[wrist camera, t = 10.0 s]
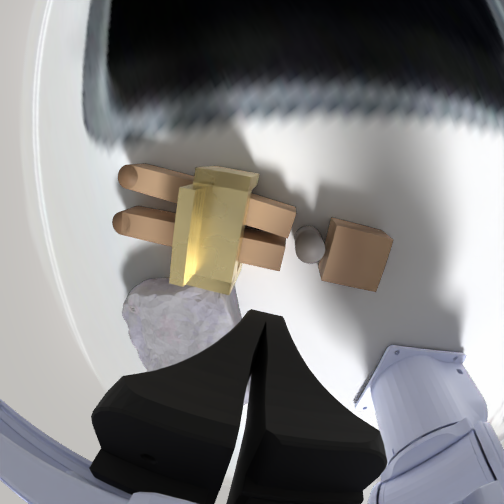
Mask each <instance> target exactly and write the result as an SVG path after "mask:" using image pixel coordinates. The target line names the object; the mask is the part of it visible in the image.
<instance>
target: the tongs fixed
mask: <svg viewBox="0 0 504 504" xmlns="http://www.w3.org/2000/svg"><path fill="white" fill-rule="evenodd" d="M175 217H176V213H173V212H168V211H163V210H157V209H152V208H147V207H142V206H135V207H132V208H129V209H127V210H124V211H121V212H118V213H116V214H115V215H114V217H113V221H112V223H113V227H114V229H115V231H116V232H117V233H118V234H121V235H125V236H129V237H133V238H137V239H141V240H146V241H150V242H154V243H158V244H162V245H167V246H171V247H172V244H173V235H174V226H175ZM392 243H393V239H392V238H391V237H390V236H388V235H387V234H386V233H385V232H383V231H382V230H379V229H375V228H372V227H368V226H364V225H360V224H356V223H352V222H349V221H345V220H341V219H337V218H332V217H331V220H330V224H329V228H328V232H327V236H326V240H325V244H324V242H323V239H322V237H321V234H320V232H319V231H318V230H317V229H316V228H315V227H313V226H303V227H301V228H300V229H299V230H298V231H297V232H296V235H295V250H296V255H297V257H298V258H299V259H300V260H301V261H303V262H305V263H315V262H318V261H319V260H320V262H319V265H318V268H319V272H320V276H321V280H322V281H326V282H331V283H336V284H340V285H345V286H350V287H354V288H359V289H364V290H369V291H373V292H376V291H377V288H378V285H379V282H380V280H381V277H382V274H383V271H384V268H385V265H386V262H387V259H388V256H389V253H390V250H391V247H392ZM285 244H286V238H285V237H282V236H279V235H276V234H273V233H268V232H264V231H259V230H254V229H250V228H245V230H244V235H243V241H242V246H241V251H240V257H239V262H240V263H245V264H249V265H254V266H258V267H263V268H267V269H272V270H276V271H280V267H281V263H282V259H283V255H284V251H285Z"/></svg>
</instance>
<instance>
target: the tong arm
mask: <svg viewBox="0 0 504 504" xmlns="http://www.w3.org/2000/svg"><path fill="white" fill-rule="evenodd" d="M118 181H119V183H120V185H121V186H122V187H123V188H126V189H129V190H133V191H136V192H140V193H143V194H146V195H150V196H153V197H157V198H160V199H163V200H167V201H170V202H173V203H177V201H178V194H179V187H183V186H187V185H190V184H193V181H194V176H191V175H188V174H184V173H180V172H176V171H173V170H169V169H165V168H161V167H157V166H153V165H149V164H130V165H125V166H123V167H122V168H121V169H120V170H119V173H118ZM295 216H296V207H294V206H291V205H288V204H285V203H282V202H278V201H275V200H272V199H269V198H266V197H263V196H260V195H256V194H253V193H251V199H250V204H249V209H248V214H247V220H246V225H248V226H251V227H254V228H257V229H260V230H263V231H267V232H270V233H273V234H276V235H279V236H282V237H285V238H288V236H289V233H290V231H291V228H292V225H293V222H294V219H295Z"/></svg>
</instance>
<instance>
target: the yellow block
mask: <svg viewBox="0 0 504 504" xmlns="http://www.w3.org/2000/svg"><path fill="white" fill-rule="evenodd" d="M258 179H259V174H257V173H252V172H247V171H242V170H236V169H231V168H225V167H219V166H206V167H196V168H195V175H194V181H193V184H190V185H187V186H183V187H179V194H178V201H177V209H176V217H175V226H174V235H173V244H172V255H171V266H170V278H169V283H170V284H174V285H178V286H181V287H184V285H189V286H193V287H197V288H201V289H205V290H209V291H213V292H217V293H221V294H226V295H230V293H231V291H232V289H233V286H234V284H235V282H236V280H237V278H238V275H239V273H240V271H241V267H242V263H240V262H239V257H240V251H241V246H242V241H243V235H244V230H245V225H246V220H247V214H248V209H249V204H250V199H251V193H252V189H253V188H255V187H256V186H257V184H258Z"/></svg>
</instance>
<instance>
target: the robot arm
mask: <svg viewBox="0 0 504 504" xmlns="http://www.w3.org/2000/svg"><path fill="white" fill-rule="evenodd" d="M397 350H398V352H395V351H397ZM465 358H466V355H465V354H464V353H460V352H449V351H439V350H429V349H420V348H412V347H404V346H397V345H391V346H389V347H388V348H387V349H386V351H385V353H384V355H383V357H382V359H381V361H380V362H379V364H378V366H377V368H376V370H375V372H374V374H373V375H372V377H371V379H370V381H369V383H368V384H367V386H366V388H365V389H364V391H363V393H362V395H361V396H360V398H359V400H358V401H357V403H356V404H355V409H356V410H358V411H373V412H375V414H376V418H377V422H378V426H379V430H380V431H379V430H377V429H376V428H374V427H373V426H371V425H369V424H368V423H366V422H365V421H363V420H362V419H360V418H359V417H357V416H356V415H354V414H353V413H352V412H351V411H349V410H348V409H347V408H346V407H344V406H343V405H342V404H341V403H340V402H339V401H338V400H336V399H335V398H334V397H333V396H332V395H331V394H330V393H329V392H328V391H327V390H326V389H325V388H324V386H323V385H322V384H321V383H320V382H319V381H318V380H317V378H316V377H315V376H314V374H313V373H312V372H311V371H310V369H309V368H308V366H307V365H306V363H305V362H304V360H303V358H302V357H301V355H300V353H299V351H298V350H297V348H296V346H295V344H294V342H293V340H292V338H291V335H290V333H289V331H288V328H287V326H286V323H285V320H284V318H283V317H282V316H278V315H273V314H269V313H265V312H260V311H256V310H252V309H251V310H249V311H248V312H247V313H246V315H245V316H244V317H243V318H242V320H241V321H240V322H239V323H238V324H237V325H236V326H235V327H234V328H232V329H231V330H230V331H229V332H228V333H227V334H226V335H224V336H223V337H222V338H221V339H219V340H218V341H217V342H215V343H214V344H212V345H211V346H209V347H208V348H206V349H205V350H203V351H201V352H200V353H198V354H196V355H194V356H192V357H190V358H188V359H186V360H183V361H181V362H179V363H176V364H174V365H171V366H168V367H165V368H161V369H158V370H154V371H149V372H144V373H139V374H133V375H127V376H122V377H121V378H120V379H119V380H118V381H117V382H116V383H115V384H114V385H113V386H112V387H111V388H110V389H109V390H108V392H107V393H106V394H105V396H104V397H103V398H102V400H101V401H100V402H99V404H98V405H97V406H96V408H95V409H94V411H93V413H92V416H91V418H92V424H93V427H94V429H95V433H96V435H97V438H98V440H99V443H100V446H101V450H100V451H99V453H98V454H97V456H96V457H95V459H94V461H93V462H91V461H89V460H87V459H86V458H84V457H82V456H80V455H79V454H77V453H75V452H73V451H72V450H70V449H68V448H67V447H65V446H63V445H62V444H60V443H59V442H57V441H55V440H54V439H52V438H51V437H49V436H48V435H46V434H45V433H44V432H42V431H41V430H39V429H38V428H36V427H35V426H34V425H32V424H31V423H30V422H28V421H27V420H26V419H24V418H23V417H22V416H20V415H19V414H18V413H17V412H15V411H14V410H13V409H12V408H11V407H9V406H8V405H7V404H6V403H5V402H3V401H2V400H1V399H0V480H1V481H2V482H3V483H4V484H5V485H6V486H8V487H9V488H10V489H11V490H12V491H13V492H15V493H16V494H17V495H18V496H19V497H21V498H22V499H23V500H24V501H26V502H27V503H28V504H214V503H215V501H216V498H217V495H218V492H219V491H220V488H221V485H222V483H223V480H224V477H225V474H226V471H227V469H228V466H229V463H230V460H231V457H232V454H233V451H234V448H235V445H236V440H237V436H238V432H239V427H240V421H241V415H242V410H243V404H244V398H245V393H246V388H247V385H248V382H249V379H250V376H251V381H250V390H249V400H248V409H247V419H246V425H245V431H244V435H243V440H242V444H241V448H240V452H239V457H238V461H237V465H236V469H235V473H234V477H233V481H232V485H231V489H230V492H229V496H228V500H227V503H226V504H361V503H362V502H363V490H364V489H365V488H366V487H367V486H369V485H370V484H371V483H372V482H373V481H374V480H376V479H377V478H378V477H379V476H381V481H380V482H378V483H377V484H376V485H375V486H373V488H372V490H371V493H370V496H369V499H368V504H504V449H503V447H502V445H501V443H500V441H499V439H498V437H497V435H496V433H495V431H494V429H493V428H492V426H491V424H490V423H489V422H487V417H488V412H487V405H486V402H485V400H484V398H483V396H482V394H481V393H480V391H479V390H478V388H477V386H476V385H475V383H474V381H473V380H472V378H471V377H470V375H469V374H468V372H467V370H466V369H465V367H464V366H463V364H462V363H463V362H464V360H465ZM364 406H365V407H364Z"/></svg>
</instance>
